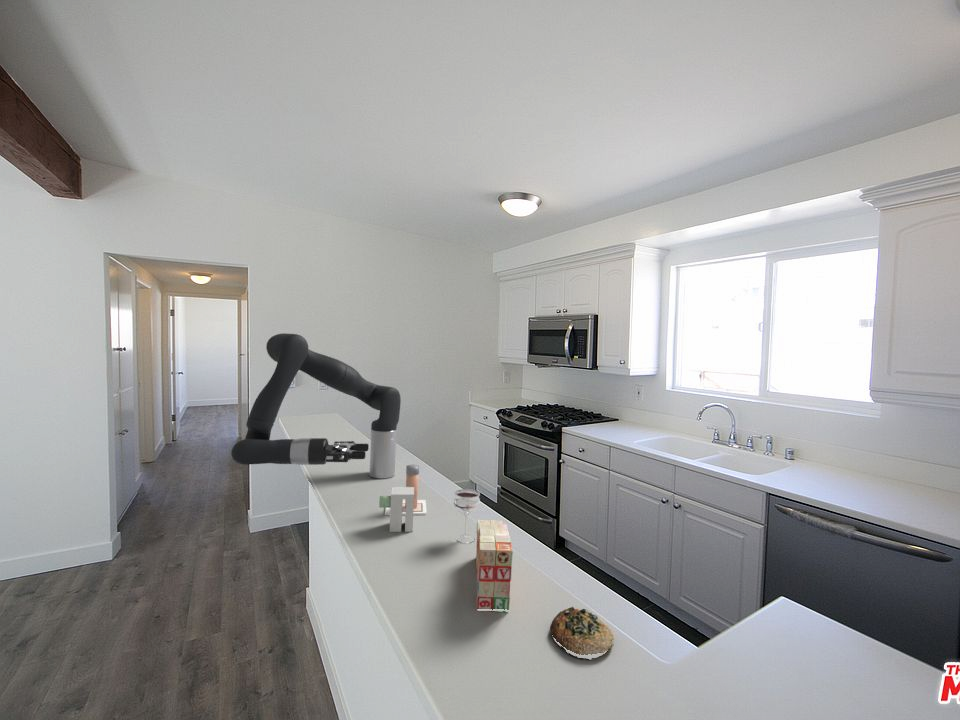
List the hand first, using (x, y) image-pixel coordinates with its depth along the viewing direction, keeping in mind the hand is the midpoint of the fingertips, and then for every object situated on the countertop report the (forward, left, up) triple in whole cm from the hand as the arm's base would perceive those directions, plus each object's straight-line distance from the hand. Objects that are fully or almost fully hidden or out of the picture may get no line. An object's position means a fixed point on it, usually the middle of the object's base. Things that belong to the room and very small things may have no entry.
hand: (366, 451), depth 131 cm
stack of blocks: (+42, +31, -18) cm, 55 cm away
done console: (+13, +11, -17) cm, 25 cm away
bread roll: (+61, +44, -18) cm, 77 cm away
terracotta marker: (0, +14, -17) cm, 22 cm away
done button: (+13, +7, -12) cm, 19 cm away
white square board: (-1, +12, -17) cm, 21 cm away
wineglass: (+21, +28, -18) cm, 39 cm away
